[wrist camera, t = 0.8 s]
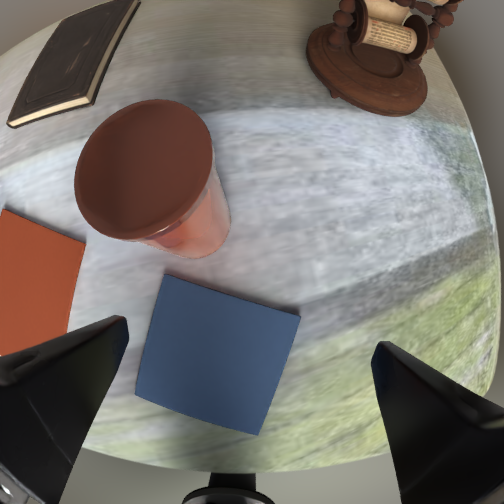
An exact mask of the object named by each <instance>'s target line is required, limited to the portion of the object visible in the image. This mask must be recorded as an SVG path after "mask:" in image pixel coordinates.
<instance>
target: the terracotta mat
mask: <svg viewBox="0 0 504 504" xmlns="http://www.w3.org/2000/svg"><path fill="white" fill-rule="evenodd" d="M85 247H86V244H85V243H82V242H80V241H77V240H75V239H72V238H70V237H68V236H65V235H63V234H60V233H58V232H56V231H53V230H51V229H48V228H46V227H44V226H41V225H39V224H37V223H35V222H32V221H30V220H28V219H26V218H23V217H21V216H19V215H17V214H14V213H12V212H10V211H8V210H6V209H2V212H1V216H0V355H1V356H4V355H7V354H11V353H14V352H17V351H21V350H24V349H26V348H29V347H32V346H35V345H37V344H41V343H43V342H45V341H48V340H51V339H53V338H56V337H59V336H61V335H64V334H66V333H67V326H68V320H69V315H70V309H71V304H72V299H73V294H74V290H75V285H76V281H77V277H78V273H79V269H80V265H81V261H82V257H83V254H84V250H85Z"/></svg>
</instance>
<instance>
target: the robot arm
mask: <svg viewBox="0 0 504 504" xmlns="http://www.w3.org/2000/svg"><path fill="white" fill-rule="evenodd" d="M128 342H129V332H128V325H127V320H126V318H125V317H124V316H119V315H113V316H111V317H108V318H106V319H103V320H100V321H98V322H95V323H93V324H90V325H87V326H85V327H82V328H80V329H77V330H74V331H72V332H69V333H67V334H64V335H61V336H59V337H56V338H53V339H51V340H48V341H45V342H43V343H41V344H37V345H35V346H32V347H29V348H26V349H24V350H21V351H17V352H14V353H11V354H7V355H4V356H0V504H26V503H27V501H28V499H29V497H31V498H33V499H34V500H36V501H37V502H39V503H40V504H59V501H60V498H61V496H62V493H63V491H64V488H65V485H66V483H67V480H68V478H69V475H70V473H71V470H72V468H73V465H74V463H75V461H76V458H77V456H78V454H79V451H80V449H81V447H82V444H83V442H84V440H85V438H86V435H87V433H88V431H89V429H90V427H91V425H92V422H93V420H94V418H95V416H96V414H97V412H98V410H99V408H100V406H101V404H102V401H103V399H104V397H105V395H106V393H107V391H108V389H109V387H110V385H111V383H112V381H113V379H114V377H115V375H116V373H117V371H118V368H119V365H120V363H121V360H122V357H123V355H124V352H125V350H126V347H127V344H128ZM371 368H372V373H373V379H374V384H375V390H376V396H377V400H378V404H379V408H380V411H381V415H382V418H383V422H384V426H385V430H386V434H387V437H388V441H389V445H390V450H391V454H392V458H393V462H394V467H395V471H396V476H397V481H398V486H399V491H400V495H401V496H400V497H401V502H402V504H504V408H503V407H501V406H499V405H497V404H495V403H493V402H491V401H489V400H487V399H485V398H483V397H481V396H479V395H477V394H475V393H473V392H472V391H470V390H468V389H466V388H465V387H463V386H461V385H460V384H458V383H456V382H455V381H453V380H452V379H450V378H448V377H447V376H445V375H443V374H442V373H440V372H439V371H437V370H435V369H434V368H432V367H430V366H429V365H427V364H425V363H424V362H422V361H421V360H419V359H417V358H416V357H414V356H412V355H411V354H409V353H408V352H406V351H404V350H403V349H401V348H399V347H398V346H396V345H395V344H393V343H391V342H390V341H380V342H379V343H378V344H377V346H376V349H375V352H374V354H373V357H372V360H371ZM206 504H216V503H212V502H207V503H206Z"/></svg>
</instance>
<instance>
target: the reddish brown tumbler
mask: <svg viewBox="0 0 504 504" xmlns="http://www.w3.org/2000/svg"><path fill="white" fill-rule="evenodd" d="M74 190H75V197H76V202H77V204H78V207H79V210H80V212H81V213H82V215H83V217H84V218H85V220H86V221H87V222H88V223H89V224H90V225H91V226H92V227H93V228H94V229H95V230H97V231H98V232H100V233H102V234H104V235H106V236H108V237H111V238H114V239H118V240H121V241H127V242H139V243H142V244H145V245H148V246H151V247H154V248H157V249H160V250H163V251H166V252H168V253H171V254H174V255H177V256H180V257H184V258H189V259H198V258H203V257H206V256H208V255H210V254H212V253H214V252H215V251H216V250H218V249H219V248H220V247H221V246H222V244H223V243H224V242H225V240H226V238H227V236H228V234H229V231H230V226H231V216H230V211H229V208H228V205H227V202H226V198H225V195H224V192H223V189H222V186H221V183H220V180H219V177H218V174H217V170H216V167H215V153H214V147H213V143H212V140H211V136H210V133H209V131H208V129H207V126H206V125H205V123H204V122H203V120H202V119H201V118H200V117H199V116H198V115H197V114H196V113H195V112H194V111H193V110H191V109H190V108H189V107H187V106H185V105H183V104H180V103H178V102H175V101H170V100H162V99H155V100H146V101H141V102H137V103H134V104H131V105H129V106H127V107H124V108H123V109H121V110H119V111H117V112H116V113H114V114H113V115H111V116H110V117H109V118H107V119H106V120H105V121H104V122H103V123H102V124H101V125H100V126H99V127H98V128H97V129H96V130H95V131H94V132H93V134H92V135H91V136H90V138H89V139H88V141H87V142H86V144H85V146H84V148H83V150H82V152H81V154H80V157H79V159H78V162H77V166H76V171H75V177H74Z"/></svg>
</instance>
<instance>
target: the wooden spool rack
mask: <svg viewBox="0 0 504 504" xmlns="http://www.w3.org/2000/svg"><path fill="white" fill-rule="evenodd" d="M428 1H431V2H433V3H435V4H438V5H443V6H435V7H432V6H431V5H430V4H429V3H426V2H419V1H416V0H341V1H340V3H339V9H340V10H338V11H336V12H335V13H334V15H333V20H334V22H335V23H330V24H326V25H323V26H321V27H319V28H317V29H316V30H314V31H313V32H312V33H311V35H310V37H309V39H308V43H307V47H306V57H307V61H308V63H309V66H310V67H311V69H312V71H313V72H314V74H315V75H316V76H317V78H318V79H319V80H320V81H321V82H322V83H323V84H324V85H325V86H326V87H327V88H328V89H330V90H331V96H332V98H334V99H335V98H337V97H340V98H342V99H344V100H345V101H347V102H349V103H351V104H352V105H354V106H357V107H359V108H361V109H363V110H366V111H369V112H372V113H375V114H379V115H384V116H393V117H397V116H405V115H409V114H411V113H413V112H415V111H416V110H417V109H418V108H419V107H420V106H421V105H422V104H423V102H424V101H425V99H426V96H427V82H426V78H425V75H424V73H423V71H422V69H421V67H420V66H419V64H420V63H421V60H422V57H423V55H424V54H426V53H427V50H428V49H432V48H433V46H434V41H433V39H434V38H437V37H438V35H439V31H440V27H441V28H444V27H445V26H449V25H451V24H452V23H453V21H454V17H453V15H452V13H451V12H455V11H456V10H457V7H458V3H460V2H462V1H463V0H428ZM414 8H416V9H418V10H419V11H420V12H422V13H423V14H425V15H432V17H433V18H432V21H433V23H431V24H430V25H428V26H427V23H426V22H425V20H424V19H423V18H422V17H421V16H419V15H411V16H410V17H408V18H407V20H406V21H405V23H404V25H403V26H402V22H403V20H404V19H405V17H406V15H407V14H408V12H409V10H410V9H414Z"/></svg>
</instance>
